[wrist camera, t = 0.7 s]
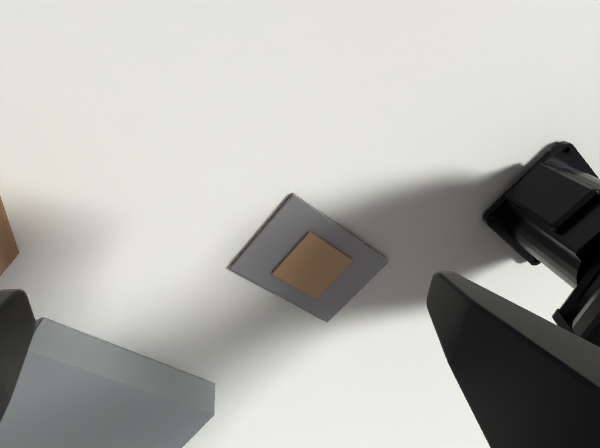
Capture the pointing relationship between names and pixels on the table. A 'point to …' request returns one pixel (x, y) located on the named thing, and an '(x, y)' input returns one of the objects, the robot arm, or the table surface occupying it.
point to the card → (308, 260)
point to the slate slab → (100, 397)
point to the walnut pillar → (6, 241)
